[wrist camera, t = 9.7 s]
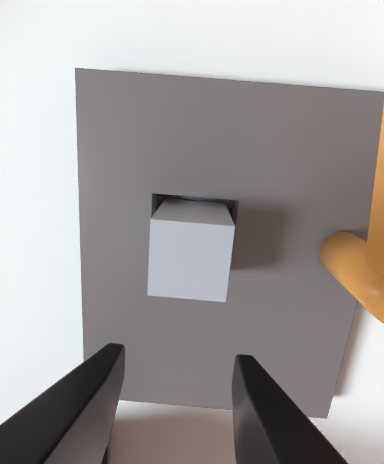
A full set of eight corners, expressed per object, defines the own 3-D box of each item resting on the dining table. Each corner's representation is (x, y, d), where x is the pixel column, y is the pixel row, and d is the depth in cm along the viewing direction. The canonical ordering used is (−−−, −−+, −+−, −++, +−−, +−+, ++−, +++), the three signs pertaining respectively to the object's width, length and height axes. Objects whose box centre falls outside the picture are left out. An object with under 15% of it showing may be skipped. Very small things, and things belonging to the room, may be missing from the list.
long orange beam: (316, 272, 18) (366, 326, 13) (336, 1, 14) (421, -92, 9) (359, 271, 18) (428, 325, 12) (391, -3, 14) (513, -99, 9)
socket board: (316, 396, 23) (326, 418, 22) (94, 376, 24) (84, 396, 22) (388, 100, 17) (411, 94, 15) (89, 76, 18) (75, 67, 16)
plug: (219, 259, 21) (225, 302, 15) (162, 254, 21) (147, 295, 15) (225, 203, 19) (235, 226, 14) (165, 198, 20) (150, 219, 14)
